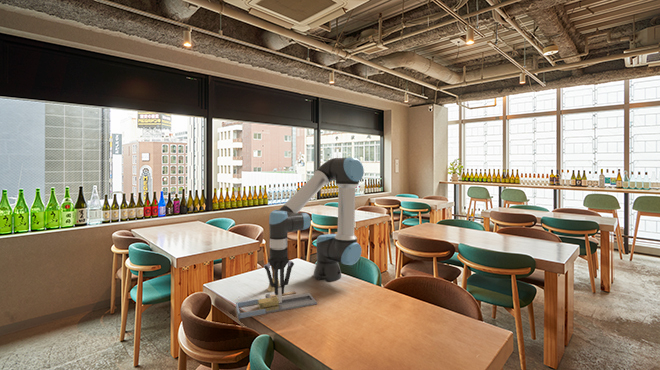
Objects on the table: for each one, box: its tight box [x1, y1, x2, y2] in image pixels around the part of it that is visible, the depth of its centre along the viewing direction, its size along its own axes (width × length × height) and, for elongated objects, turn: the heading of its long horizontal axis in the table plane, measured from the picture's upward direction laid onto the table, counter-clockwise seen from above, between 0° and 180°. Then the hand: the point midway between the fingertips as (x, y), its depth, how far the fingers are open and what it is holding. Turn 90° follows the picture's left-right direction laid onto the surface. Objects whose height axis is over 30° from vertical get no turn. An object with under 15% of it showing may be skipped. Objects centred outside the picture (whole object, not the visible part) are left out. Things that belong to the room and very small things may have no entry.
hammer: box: [265, 291, 297, 298], centre depth 144 cm, size 13×5×2 cm, turn 110°
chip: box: [257, 297, 269, 310], centre depth 131 cm, size 4×4×3 cm
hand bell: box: [266, 265, 280, 293], centre depth 151 cm, size 8×8×16 cm
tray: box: [235, 298, 266, 322], centre depth 129 cm, size 11×11×3 cm
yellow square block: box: [268, 297, 279, 308], centre depth 133 cm, size 4×4×3 cm
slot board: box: [265, 292, 318, 315], centre depth 135 cm, size 22×11×2 cm, turn 112°
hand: (279, 301), depth 134 cm, fingers closed
